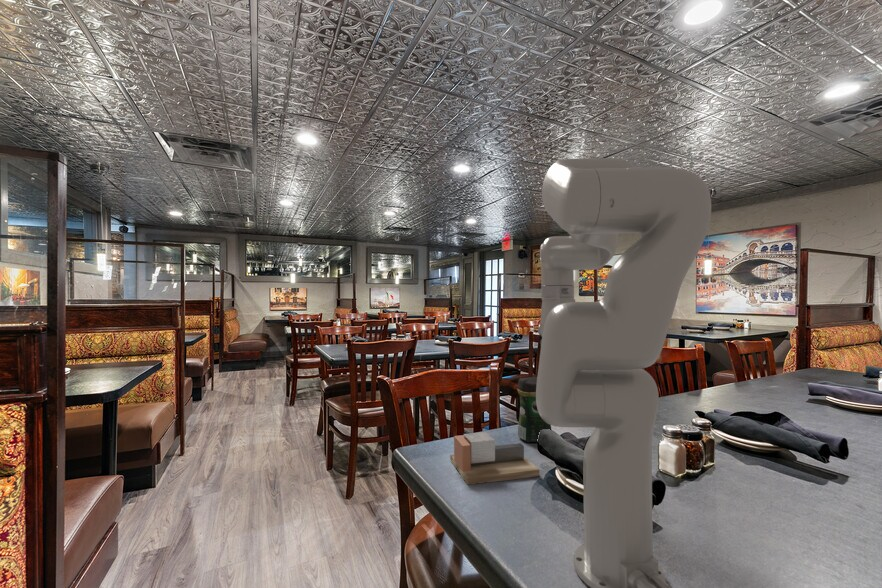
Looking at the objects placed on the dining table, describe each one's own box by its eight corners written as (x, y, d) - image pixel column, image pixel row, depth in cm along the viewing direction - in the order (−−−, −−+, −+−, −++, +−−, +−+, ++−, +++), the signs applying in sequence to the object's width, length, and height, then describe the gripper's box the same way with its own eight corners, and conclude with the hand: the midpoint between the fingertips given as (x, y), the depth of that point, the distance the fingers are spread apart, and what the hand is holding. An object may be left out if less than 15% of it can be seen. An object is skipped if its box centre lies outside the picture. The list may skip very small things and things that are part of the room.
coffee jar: (543, 433, 122) (542, 374, 122) (555, 442, 114) (555, 379, 114) (514, 435, 120) (513, 375, 120) (525, 444, 112) (524, 380, 112)
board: (539, 475, 92) (539, 469, 92) (467, 484, 87) (467, 478, 87) (513, 453, 105) (513, 448, 105) (450, 460, 101) (450, 454, 101)
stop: (470, 470, 91) (470, 445, 91) (462, 471, 91) (462, 445, 91) (461, 459, 98) (461, 435, 98) (454, 460, 97) (454, 436, 98)
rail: (523, 460, 97) (523, 446, 97) (467, 466, 94) (467, 451, 94) (520, 457, 99) (520, 443, 99) (464, 463, 96) (464, 448, 96)
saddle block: (495, 460, 93) (494, 440, 93) (471, 463, 92) (471, 442, 92) (486, 451, 99) (485, 432, 99) (463, 454, 97) (463, 434, 98)
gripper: (593, 292, 86) (594, 370, 85) (552, 294, 102) (552, 359, 102) (564, 292, 84) (564, 371, 83) (526, 294, 101) (527, 360, 100)
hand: (558, 365), depth 93 cm, fingers open, 9 cm apart
